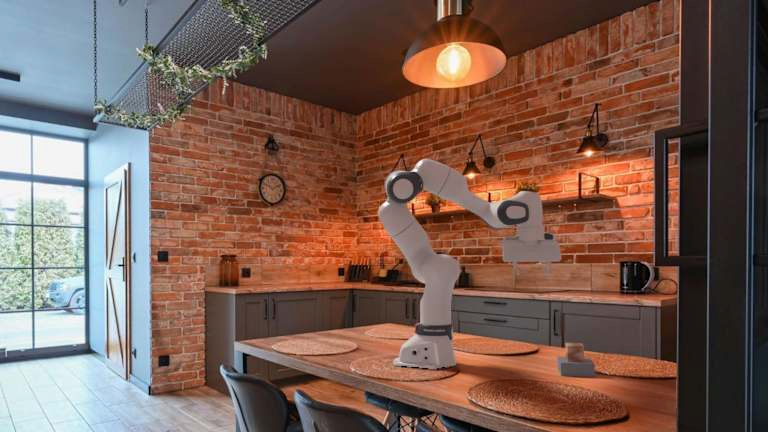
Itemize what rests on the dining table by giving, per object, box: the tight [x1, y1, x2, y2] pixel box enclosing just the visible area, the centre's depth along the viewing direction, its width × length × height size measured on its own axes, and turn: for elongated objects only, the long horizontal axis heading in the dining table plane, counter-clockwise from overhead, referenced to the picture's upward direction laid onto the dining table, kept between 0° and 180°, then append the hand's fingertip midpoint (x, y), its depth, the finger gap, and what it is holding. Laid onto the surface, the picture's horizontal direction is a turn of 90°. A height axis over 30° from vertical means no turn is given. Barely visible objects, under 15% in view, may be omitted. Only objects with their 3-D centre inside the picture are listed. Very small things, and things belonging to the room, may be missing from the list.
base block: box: [557, 356, 596, 378], centre depth 158 cm, size 10×10×4 cm
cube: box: [565, 342, 585, 362], centre depth 158 cm, size 5×5×5 cm
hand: (532, 274), depth 174 cm, fingers open, 8 cm apart
